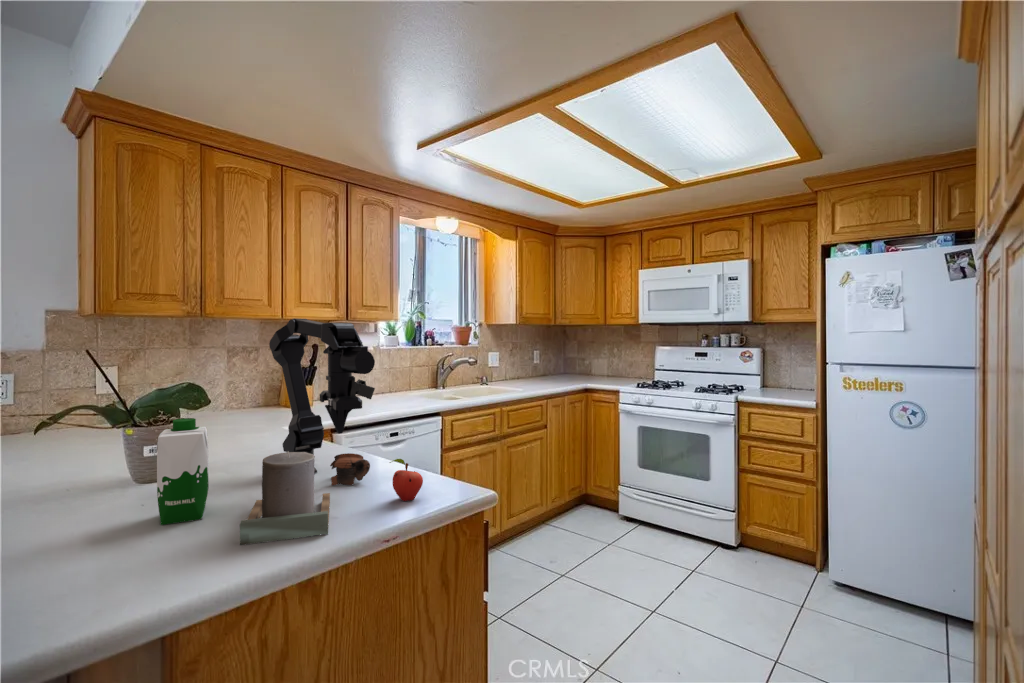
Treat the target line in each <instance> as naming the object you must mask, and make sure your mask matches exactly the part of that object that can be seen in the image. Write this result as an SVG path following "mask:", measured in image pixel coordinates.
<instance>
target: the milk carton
mask: <svg viewBox="0 0 1024 683" xmlns="http://www.w3.org/2000/svg"><path fill="white" fill-rule="evenodd" d="M196 420H197V419H196V418H194V417H192V418H191V417H185V418H176V419H174V420H172V428H169V429H168V428H167V429H164V430H162V432H160V433H159V435H158V437H157V443H156V450H155V451H156V452H157V454H156V492H157V493H156V494H157V495H156V496H157V497H156V498H157V505H158V512H159V522H160V526H165V525H171V524H177V523H178V522H179V523H186V522H192V520H193V521H197V520H199V519H200V520H202V519H203V516H204V512H205V509H206V504H207V500H208V499H207V498H208V494H209V437H208V429H207V426H197V425H196V424H197V423H196ZM179 523H178V524H179Z"/></svg>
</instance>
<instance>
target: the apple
mask: <svg viewBox="0 0 1024 683" xmlns="http://www.w3.org/2000/svg"><path fill="white" fill-rule="evenodd" d="M393 462H395V463H399V464H403V465H405V468H404V469H405V470H403V469H399V470H395V472H394V473H393V476H392V488H393V490H394V492H395V493H396V496H397V497H398V498H399V499H400V500H401V501H403V502H410V500H411V501H414V500H415V498H416V496H417V495H418V493H419V492H420V490H421V489H422V486H423V483H424V477H423V476H422V474H421V473H419V472H418V471H415V470H414V471H411V470H408V467H409V463H408V462H406V463H405V460H404V459H402V458H396V459H393V460H392V461H389V462H388V463H389V464H391V463H393Z"/></svg>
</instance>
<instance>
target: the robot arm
mask: <svg viewBox="0 0 1024 683" xmlns="http://www.w3.org/2000/svg"><path fill="white" fill-rule="evenodd" d="M309 336H310V337H315V338H318V339H320V341H321V343H324V344H325V345H328V346H327V347H326V348H325V349H324V350H323V354H325V355H327V375H325V380H326V381H327V390H322V391H321V392H320V393H319V402H320V403H325V401H326V402H327V401H328V403H327V404H324V408H325V409H326V411H327V413H328V415H329V418H330V420H331V422H332V424H333V426H334V428H335V431H336V432H337V434H338V435H339V434H343V432H344V429H345V425H346V422H347V418H348V415H349V413H350V412H351V411H353V410H360V409H363V400H362V399H361V398H360V397H363V398H365V399H367V400H372V397H373V395H374V393H375V389H376V387H373V386H369V385H367V382H366V381H365V380H363V379H359V378H358V379H357V381H356V377H355V376H354V375H352V374H357V375H358V374H359V375H368V374H369V373H371V372H372V371H373V370H374V368H375V365H376V364H375V362H376V361H375V358H374V355H373V354H372V353H371V352H370V351H368V350H369V347H368V346H367V345H364V344H363V341H362V340H361V338H360V336H359V333H358V332H357V329H356V328H355V325H354V324H353V323H352V322H320V321H315V320H310V319H307V318H290V320H288V322H287V323H286V324H285V325H284V326H282V327H281V328H279V329H277V330H276V331H275V332H274V334H273V335H272V337H271V338H270V340H269V346H268V347H269V349H270V351H271V354H272V358H273V359H274V361H276V363H278V364H279V365H280V367H281V369H282V373H283V378H284V382H285V386H286V392H287V397H288V400H289V401H288V402H289V406H290V410H291V416H292V417H291V420H290V422H289V424H288V435H287V436H286V437H285V438H284V441H282V448H283V453H286V452H287V451H289V452H307V453H310V454H313V455H314V454H315V451H314V450H315V449H321V448H322V447H323V446H322V445H323V442H324V436H325V430H324V429H325V428H324V425H323V421H322V417H321V415H320V414H315V413H314V412H313V410H312V407H311V404H310V399H309V394H308V389H307V385H306V380H305V377H304V372H303V366H302V360H303V357H304V355H305V347H306V345H307V344H308V343H309ZM356 395H357V396H356ZM359 396H360V397H359ZM314 456H315V455H314ZM316 473H318V470H317V469H316V467H315V466H314V474H316Z"/></svg>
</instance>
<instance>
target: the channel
mask: <svg viewBox="0 0 1024 683" xmlns="http://www.w3.org/2000/svg"><path fill="white" fill-rule="evenodd" d="M321 500H322V501H321V508H320V511H316V512H315V511H314V513H305V514H296V515H286V516H277V517H268V518H262V499H256V501H255V502H254V505H253V506H252V509H251V510H250V513H249V515H248V517H247V519H243V520H242V519H241V520H240V523H239V546H243V545H244V546H245V544H246V545H253V543H254V544H261V543H260V542H262V543H268V542H267V541H270V542H277V540H278V541H285V539H286V540H293V538H294V539H299V537H302V538H307V537H306V536H311V537H314V536H313V535H319V536H321V535H320V534H327V535H329V525H330V524H329V522H330V508H329V507H331V506H330V505H331V493H330V492H326V493H322V499H321ZM328 524H329V525H328ZM258 542H259V543H258Z"/></svg>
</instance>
